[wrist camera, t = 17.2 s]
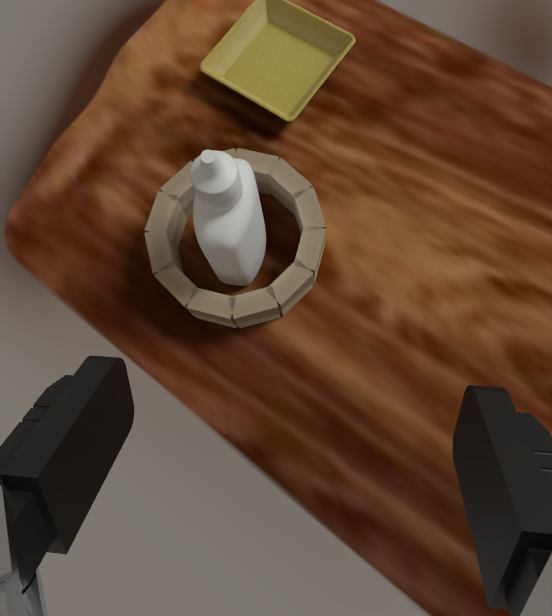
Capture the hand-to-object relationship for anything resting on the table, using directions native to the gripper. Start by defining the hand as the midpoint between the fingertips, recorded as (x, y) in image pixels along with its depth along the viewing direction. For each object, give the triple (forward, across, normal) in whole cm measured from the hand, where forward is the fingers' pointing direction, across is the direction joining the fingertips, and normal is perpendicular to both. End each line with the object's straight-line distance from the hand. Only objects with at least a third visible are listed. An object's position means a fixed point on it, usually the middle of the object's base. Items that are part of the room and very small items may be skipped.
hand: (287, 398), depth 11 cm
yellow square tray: (+33, +4, -4) cm, 33 cm away
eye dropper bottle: (+22, +5, +6) cm, 24 cm away
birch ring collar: (+22, +6, +6) cm, 24 cm away
